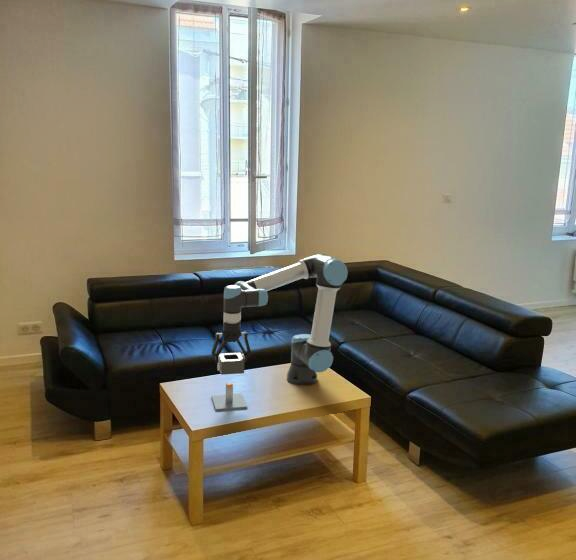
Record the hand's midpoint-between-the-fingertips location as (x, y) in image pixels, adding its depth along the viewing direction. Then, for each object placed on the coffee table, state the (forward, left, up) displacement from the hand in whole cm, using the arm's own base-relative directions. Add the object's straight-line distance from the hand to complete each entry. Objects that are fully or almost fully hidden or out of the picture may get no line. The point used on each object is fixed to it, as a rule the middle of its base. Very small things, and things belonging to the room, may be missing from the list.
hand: (230, 369), depth 256 cm
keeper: (+1, 0, -16) cm, 16 cm away
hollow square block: (0, 0, 0) cm, 0 cm away
